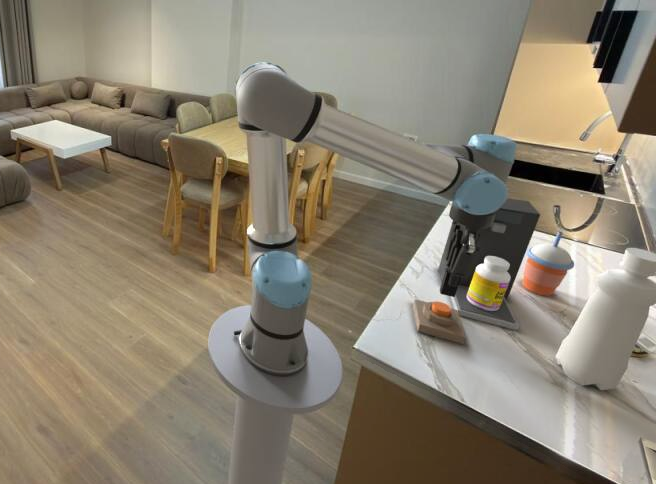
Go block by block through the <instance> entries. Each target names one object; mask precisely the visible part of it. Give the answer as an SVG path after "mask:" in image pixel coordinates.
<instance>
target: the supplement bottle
mask: <svg viewBox="0 0 656 484" xmlns="http://www.w3.org/2000/svg"><path fill="white" fill-rule="evenodd" d="M509 266H510V264H509V263H508V262H507V261H506V260H504V259H502V258H499V257H496V256H486V257H485V259H484V264H480V265H478V266H477V267H476V270H475V273H474V276H473V279H472V281H471V284H470V287H469V290H468V293H467V299H468V301H469V302H470V303H471V304H473V305H474V306H476V307H478V308H481V309H483V310H487V311H496V310H498V309H499V308H500V305H501V303H502V300H503V298H504V295H505V292H506V290H507V287H508V284H509V282H510V279H511V277H510V274H509V273H508V272H507V270H508V269H509Z"/></svg>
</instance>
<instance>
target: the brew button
mask: <svg viewBox="0 0 656 484" xmlns="http://www.w3.org/2000/svg"><path fill="white" fill-rule="evenodd" d="M433 302H434V303H433V305H432V308H431V310H432V312H434V313H435V314H437V315H439V316H442V317H449V315H450V312H451V308H452V307H451V306H449V305H448V304H447V303H444V302H441V301H433Z"/></svg>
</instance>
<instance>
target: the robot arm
mask: <svg viewBox="0 0 656 484" xmlns="http://www.w3.org/2000/svg"><path fill="white" fill-rule="evenodd" d="M234 96H235V99H236V110H237V122H238V129H239V130H241V131H242V132H243V133H244V134H245V137H246V150H247V163H248V176H249V189H250V202H251V204H250V205H251V216H252V223H251V224H250V225H249V226H248V228H247V231H246V233H247V253H248V256H249V268H250V276H251V285H252V286H251V287H252V288H251V289H252V292H251V293H252V295H251V303H250V305H251V313H250V317H249V318H248V320H247V322H246V323H245V325H244V327H243V329H242V330H239V331H234V335H240V341H239V345H240V350H241V352H242V354H243V356H244V357H245V359H246V360H247V361H248V362H249V363H250V364H251V365H252V366H254V367H255V368H257V369H258V370H260V371H262V372H264V373H267V374H270V375H274V376H291V375H295V374H297V373H299V372H300V371H301V370H303V368H304V367H305V365H306V363H307V358H308V355H309V350H308V347H307V343H306V339H305V335H304V331H303V328H304V322H305V319H306V316H307V311H308V304H309V299H310V296H311V295H310V294H311V291H312V273H311V271H310V267H309V266H308V265H307V264H306V262H305V261H304V260H302V259H299V254H298V236H297V235H298V234H297V228H296V227H295V226H294V224H292V223H291V222H290V204H289V203H290V202H289V201H290V200H289V179H288V156H287V155H288V154H287V140H289V141H291V142H294V143H296V144H302V143H304V142H308V143H310V144H313V145H315V146H317V147H320V148H321V149H325V150H328V151H329V152H332V153H334V154H337V155H340V156H341V157H345V158H346V159H349V160H352V161H354V162H356V163H358V164H361V165H364V166H366V167H369V168H370V169H373V170H376V171H378V172H381V173H383V174H385V175H388V176H390V177H393V178H395V179H398V180H400V181H403V182H405V183H407V184H409V185H412V186H414V187H417V188H420V189H423V190H424V191H427V192H429V193H431V194H434V195H436V196H438V197H440V198H443V199H446V200H448V201H450V202H451V206H450V209H449V213H448V217H449V218H450V220H452V221H451V225H452V231H451V235H450V240H449V245H448V250H447V254H446V257H445V259H446V260H447V263H446V265H447V267H448V268H445V274H444V277H443V281H442V282H441V285H440V287H439V293H440V295H442V296H443V295H444V296H448V297H450V296H451V297H455V294H456V291H457V288H458V285H459V282H460V279H461V277H464V278H465V277H466V275H467V273H468V271H469V269H470V267H471V264H472V262H473V260H474V258H475V256H476V255H477V253H478V252H479V251H480V248H479V247H478V246H475V245H476V242H477V241H478V240H479V237H480V233H478V232H479V230H480V229H484V228H489V227H491V226H492V224H493V221H494V218H495V215H496V210H498V209H499V208H500V207H501V206H502V205H503V204H504V203H505V201H506V199H507V198H508V196H509V189H508V187H507V185H506V184H507V182H508V179H509V176H510V173H511V170H512V167H513V164H515V158H516V155H517V148H518V144H517V143H516V141H515V140H513V139H512V138H509V137H506V136H503V135H502V136H501V135H496V134H489V133H479V134H473V135H472V136H471V137H470V139H469V141H468V143H467V144H443V143H427V142H423V143H421V142H419V141H416V140H414V139H411V138H409V137H407V136H404V135H402V134H399V133H397V132H394V131H392V130H390V129H387V128H384V127H383V126H380V125H377V124H375V123H373V122H371V121H368V120H366V119H363V118H360V117H358V116H356V115H354V114H350V113H348V112H346V111H343V110H341V109H338V108H337V107H334V106H331V105H329V104H327V103H326V102H325V99H324V96H322V95H320V94H317V93H315V92H312V91H311V90H308V89H307V88H305V87H304V86H302V85H300V84H299V83H298V82H297V81H296V80H294V79H292V77H291V76H290V75H288V73H287V72H286V70H285V69H283V68H282V67H281V66H280V65H278V64H276V63H272V62H264V61H263V62H257V63H253V64H251V65H249V66H248V67H245V68H244V69H243V71H241V73H240V74H239V75H238V77H237V78H236V81H235V85H234ZM451 297H450V298H451Z"/></svg>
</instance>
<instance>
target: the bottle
mask: <svg viewBox="0 0 656 484" xmlns="http://www.w3.org/2000/svg"><path fill="white" fill-rule="evenodd" d="M619 266H620V267H621V268H622V269H621V268H608V269H607V270H605V271H603V272H601V273H599V274H598V276H597V278H596V279H597V280H596V284H597V287H598V288H597V289H596V290H595V291H594V292H593V293H592V294H591V295H590V296H589V298H588V300H587V302H586V304H585V305H584V307H583V309H582V310H581V311H580V314H579V316H578V317H577V319H576V320H575V322H574V324H573V326H572V328H571V330H569V333H568V334H567V336H565V338H564V339H563V340H562V342H561V344H560V346H559V348H558V351H557V353H556V355H555V359H556V362H557V364H558V365H559V366H561V367H562V371H563V373H564V375H565V376H566V377H567V378H569V379H570V380H571V381H572V382H575V383H577V384H579V385H580V386H590V385H594V387H596V388H598V390H600V391H607V390H608V391H609V390H614V389H617V387H618V386H619V384H620V381H621V380H622V378H623V376H624V375H625V373H626V371H627V369H629V360H630V358H631V356H632V354H633V351H634V349H635V347H636V344H637V342H638V341H639V338H640V336H641V334H642V331H643V329H644V326H645V325H646V323H647V321H648V318H649V314H650V307H651V306H654V305H655V306H656V282H655V281H654V280H652V279H651V277H656V253H655V252H652V251H649V250H646V249H642V248H637V247H626V249H625V251H624V255H623V258H622V261H619Z"/></svg>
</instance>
